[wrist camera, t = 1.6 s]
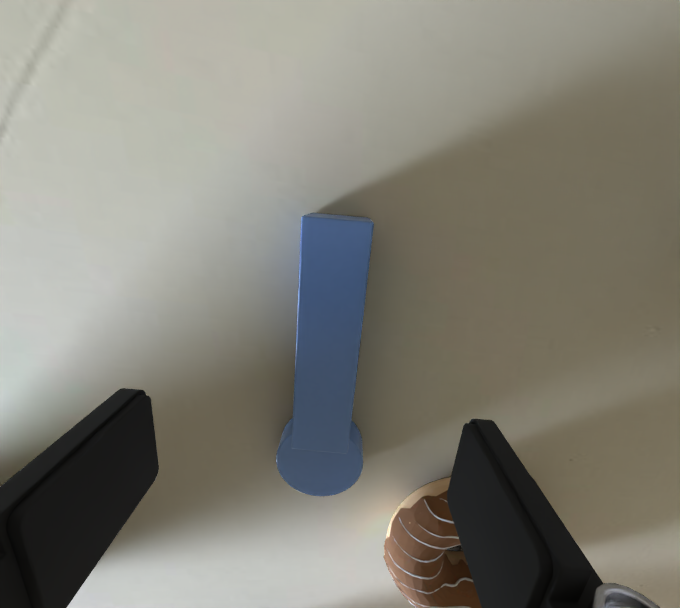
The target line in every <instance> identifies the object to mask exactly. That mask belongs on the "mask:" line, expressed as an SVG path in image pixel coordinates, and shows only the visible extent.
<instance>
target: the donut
mask: <svg viewBox="0 0 680 608" xmlns="http://www.w3.org/2000/svg"><path fill="white" fill-rule="evenodd" d="M450 479H451V477H449V478H443V479H440V480H437V481H434V482H430V483H428V484H426V485H424V486H422V487H420V488H419V489H417V490H416V491H414V492H413V493H411V494H410V495H409V496H408V497H407V498H406V499H405V500H404V501H403V502H402V503H401V504H400V505H399V507H398V508H397V510H396V511H395V513H394V515H393V516H392V519H391V521H390V524H389V527H388V531H387V537H386V540H385V545H384V550H385V555H384V559H385V562H386V564H387V567H388V570H389V572H390V574H391V576H392V578H393V581H394V582H395V584H396V586H397V587H398V588H399V590H400V591H401V593H402V594H403V595H404V596H405V597H406V599H407V600H408V601H409V602H410V603H411V604H412V605H414V606H415V607H416V608H482V607H481V604H480V601H479V598H478V595H477V592H476V589H475V585H474V582H473V579H472V576H471V573H470V570H469V567H468V564H467V561H466V558H465V555H464V552H463V551H449V550H446V549H448V548H451V547H455V546H458V545H461V543H460V540H459V537H458V534H457V531H456V528H455V525H454V522H453V519H452V516H451V513H450V510H449V506H448V502H447V491H448V487H449V483H450Z"/></svg>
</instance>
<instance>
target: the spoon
mask: <svg viewBox="0 0 680 608" xmlns="http://www.w3.org/2000/svg"><path fill="white" fill-rule="evenodd" d="M373 227H374V223H373V222H372V220H371V219H370V218H367V217H355V216H344V215H333V214H322V213H310V214H307V215H304V216H302V220H301V243H300V266H299V289H298V311H297V334H296V357H295V380H294V403H293V418H292V419H291V420H290V421H289V422H288V423H287V425H286V426H285V428H284V430H283V434H282V437H281V440H280V444H279V447H278V451H277V455H276V464H277V468H278V471H279V473H280V475H281V476H282V478H283V479H284V480H285V481H286V482H287V483H288V484H289V485H290V486H291V487H293V488H294V489H296V490H298V491H300V492H302V493H305V494H309V495H314V496H330V495H335V494H338V493H341V492H343V491H345V490H347V489H348V488H350V487H351V486H352V485H353V484H354V483H355V482H356V481H357V480H358V478H359V476H360V474H361V472H362V468H363V449H362V437H361V433H360V431H359V429H358V428H357V426H356V425H355V423H354V422H353V421H352V420H351V419H352V410H353V402H354V393H355V384H356V376H357V367H358V358H359V349H360V341H361V332H362V323H363V315H364V306H365V297H366V288H367V280H368V271H369V262H370V254H371V245H372V236H373Z"/></svg>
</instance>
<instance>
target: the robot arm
mask: <svg viewBox="0 0 680 608" xmlns="http://www.w3.org/2000/svg"><path fill="white" fill-rule="evenodd" d="M158 469H159V465H158V457H157V448H156V440H155V431H154V423H153V414H152V405H151V399H150V397H149V396H147V395H146V393H145V392H144V391H143V390H137V389H125V388H123V389H120V390H118V391H117V392H115V393H114V394H113V395H112V396H111V397H109V398H108V399H107V400H106V401H104V402H103V403H102V404H101V405H100V406H98V407H97V408H96V409H95V410H93V411H92V412H91V413H90V414H89V415H87V416H86V417H85V418H84V419H82V420H81V421H80V422H79V423H78V424H76V425H75V426H74V427H73V428H71V429H70V430H69V431H68V432H67V433H65V434H64V435H63V436H62V437H60V438H59V439H58V440H57V441H56V442H54V443H53V444H52V445H51V446H49V447H48V448H47V449H46V450H45V451H43V452H42V453H41V454H40V455H38V456H37V457H36V458H35V459H34V460H32V461H31V462H30V463H29V464H27V465H26V466H25V467H24V468H23V469H21V470H20V471H19V472H18V473H16V474H15V475H14V476H13V477H12V478H10V479H9V480H8V481H7V482H5V483H4V484H3V485H2V486H1V487H0V608H66V607H67V606H68V605H69V603H70V602H71V600H72V599H73V597H74V596H75V594H76V593H77V592H78V590H79V589H80V587H81V586H82V584H83V583H84V581H85V580H86V579H87V577H88V576H89V574H90V573H91V571H92V570H93V569H94V567H95V566H96V564H97V563H98V561H99V560H100V558H101V557H102V556H103V554H104V553H105V551H106V550H107V548H108V547H109V546H110V544H111V543H112V541H113V540H114V538H115V537H116V535H117V534H118V533H119V531H120V530H121V528H122V527H123V525H124V524H125V522H126V521H127V520H128V518H129V517H130V515H131V514H132V512H133V511H134V510H135V508H136V507H137V505H138V504H139V502H140V501H141V499H142V498H143V497H144V495H145V494H146V492H147V491H148V489H149V488H150V486H151V485H152V484H153V482H154V481H155V479H156V477H157V474H158ZM447 502H448V506H449V510H450V513H451V516H452V519H453V522H454V525H455V528H456V531H457V534H458V537H459V540H460V543H461V546H462V549H463V552H464V555H465V558H466V561H467V564H468V567H469V570H470V573H471V576H472V579H473V582H474V585H475V589H476V592H477V595H478V598H479V601H480V604H481V607H482V608H660V607H659V606H658V605H656V604H655V603H653V602H652V601H651V600H649V599H648V598H647V597H645V596H644V595H642V594H640V593H638V592H636V591H634V590H633V589H631V588H629V587H626V586H623V585H619V584H616V583H604V584H603V582H602V581H601V579H600V578H599V576H598V575H597V573H596V572H595V570H594V569H593V567H592V566H591V564H590V563H589V561H588V560H587V558H586V557H585V555H584V554H583V552H582V551H581V549H580V548H579V546H578V545H577V543H576V542H575V540H574V539H573V538H572V536H571V535H570V533H569V532H568V530H567V529H566V527H565V526H564V524H563V523H562V521H561V520H560V518H559V517H558V515H557V514H556V512H555V511H554V509H553V508H552V506H551V505H550V503H549V502H548V500H547V499H546V497H545V496H544V494H543V493H542V491H541V490H540V488H539V487H538V485H537V484H536V482H535V481H534V479H533V478H532V477H531V476H530V475H529V473H528V472H527V470H526V469H525V467H524V466H523V464H522V463H521V461H520V460H519V458H518V457H517V455H516V454H515V452H514V451H513V449H512V448H511V446H510V445H509V443H508V442H507V440H506V439H505V437H504V436H503V434H502V433H501V431H500V430H499V428H498V427H497V425H496V424H495V423H494V421H492V420H482V419H471V421H470V422H469V423H466V424H464V426H463V430H462V434H461V438H460V442H459V446H458V450H457V455H456V459H455V463H454V467H453V471H452V475H451V479H450V483H449V487H448V491H447Z"/></svg>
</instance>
